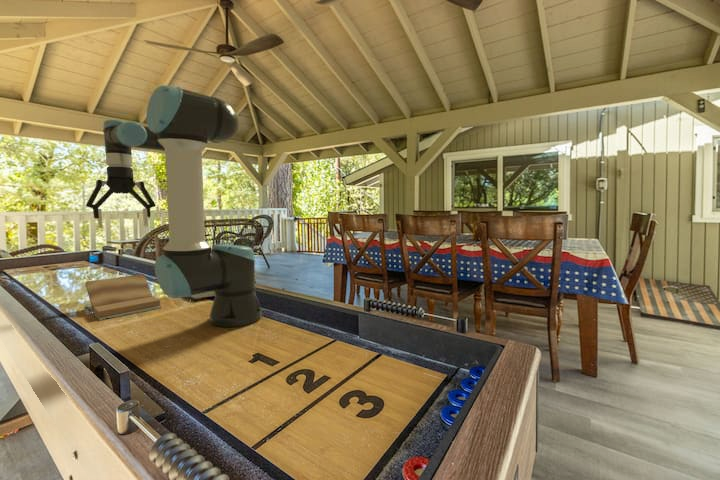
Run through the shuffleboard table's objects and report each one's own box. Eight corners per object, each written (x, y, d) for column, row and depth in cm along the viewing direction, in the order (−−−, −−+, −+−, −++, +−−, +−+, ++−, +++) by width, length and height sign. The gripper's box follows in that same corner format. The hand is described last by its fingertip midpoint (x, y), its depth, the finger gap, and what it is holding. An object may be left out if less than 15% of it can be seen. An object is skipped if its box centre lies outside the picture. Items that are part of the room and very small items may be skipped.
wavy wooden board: (151, 299, 122) (152, 296, 121) (92, 310, 110) (93, 306, 109) (143, 277, 127) (143, 273, 126) (85, 285, 115) (86, 281, 114)
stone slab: (194, 279, 150) (221, 289, 129) (194, 286, 151) (221, 298, 129) (168, 284, 143) (192, 295, 122) (169, 291, 144) (193, 304, 122)
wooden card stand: (161, 308, 116) (160, 300, 116) (99, 320, 103) (99, 312, 103) (142, 296, 130) (141, 289, 130) (86, 306, 117) (85, 299, 117)
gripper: (156, 170, 131) (159, 225, 133) (72, 164, 113) (77, 228, 115) (162, 168, 125) (166, 225, 128) (75, 162, 108) (81, 229, 110)
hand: (124, 227), depth 121 cm, fingers open, 13 cm apart
